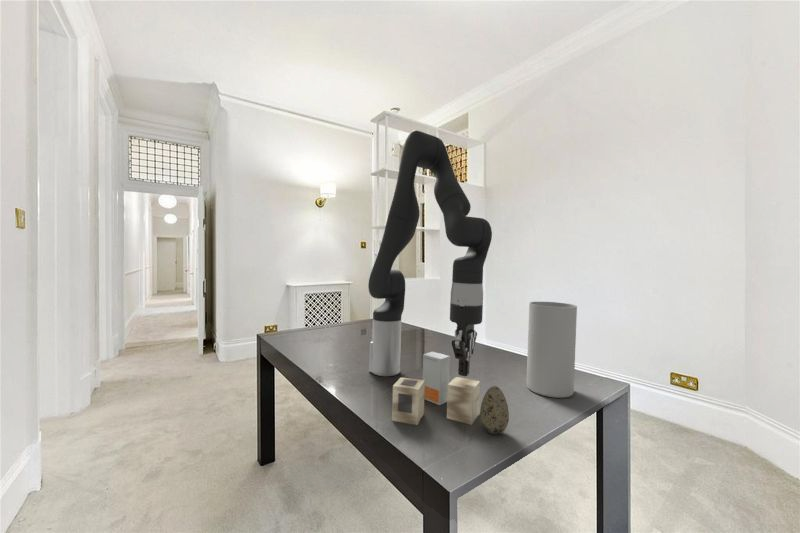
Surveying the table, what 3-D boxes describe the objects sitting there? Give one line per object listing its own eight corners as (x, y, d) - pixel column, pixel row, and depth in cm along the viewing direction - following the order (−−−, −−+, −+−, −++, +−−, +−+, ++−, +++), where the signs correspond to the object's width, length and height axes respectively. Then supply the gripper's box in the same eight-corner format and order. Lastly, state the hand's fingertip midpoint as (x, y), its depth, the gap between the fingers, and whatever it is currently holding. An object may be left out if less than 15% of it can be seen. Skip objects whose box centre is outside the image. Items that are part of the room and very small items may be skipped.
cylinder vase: (584, 396, 92) (587, 307, 92) (546, 401, 89) (550, 307, 88) (551, 380, 104) (554, 301, 104) (517, 383, 101) (520, 301, 100)
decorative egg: (503, 426, 74) (505, 381, 74) (511, 440, 68) (513, 392, 68) (476, 425, 74) (478, 380, 74) (482, 439, 68) (484, 391, 68)
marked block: (391, 420, 75) (392, 385, 75) (399, 409, 81) (400, 376, 81) (417, 425, 74) (418, 389, 73) (423, 413, 79) (424, 379, 79)
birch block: (446, 418, 77) (447, 384, 77) (454, 408, 83) (455, 376, 82) (472, 425, 75) (473, 389, 74) (478, 414, 80) (479, 381, 80)
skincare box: (421, 398, 88) (422, 353, 87) (431, 394, 91) (432, 350, 91) (439, 406, 84) (441, 359, 83) (449, 401, 87) (450, 355, 86)
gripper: (459, 298, 86) (457, 364, 86) (441, 303, 74) (438, 380, 74) (489, 300, 82) (486, 370, 83) (474, 306, 70) (471, 387, 71)
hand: (463, 374), depth 78 cm, fingers closed
